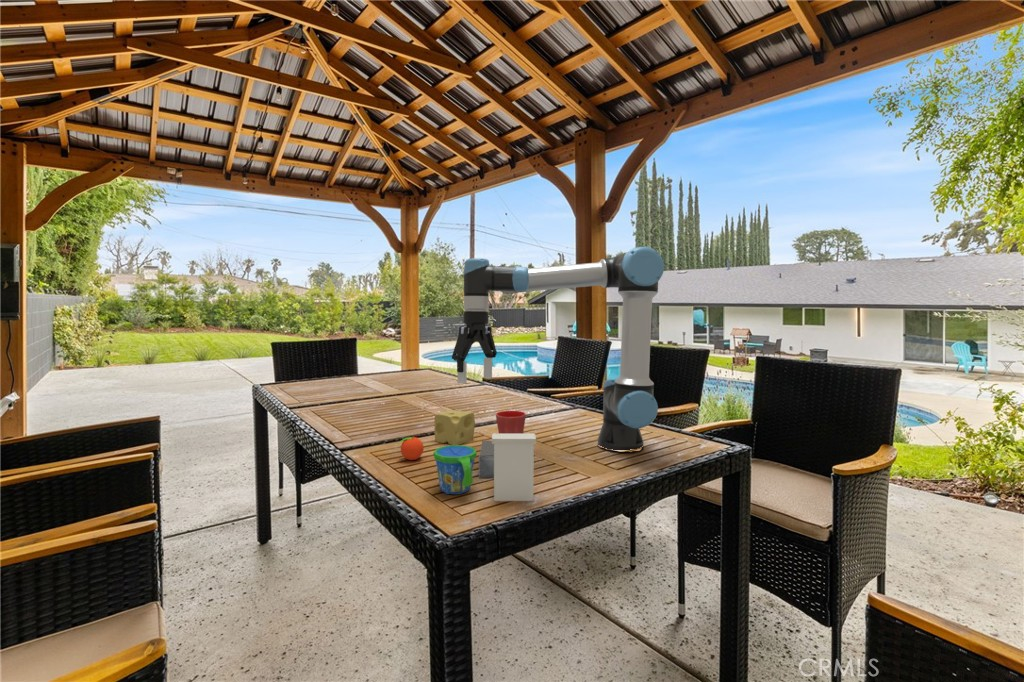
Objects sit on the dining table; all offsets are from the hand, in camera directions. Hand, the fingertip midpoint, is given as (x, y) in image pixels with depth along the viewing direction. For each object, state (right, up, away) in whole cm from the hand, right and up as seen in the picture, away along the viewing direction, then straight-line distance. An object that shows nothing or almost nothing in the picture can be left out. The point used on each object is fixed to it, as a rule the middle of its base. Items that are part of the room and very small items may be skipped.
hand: (475, 380), depth 142 cm
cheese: (-9, -23, +24) cm, 34 cm away
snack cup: (-3, -26, -23) cm, 35 cm away
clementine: (-20, -25, +1) cm, 32 cm away
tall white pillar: (+11, -26, -24) cm, 37 cm away
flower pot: (+11, -23, +24) cm, 35 cm away
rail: (+4, -25, -6) cm, 26 cm away
